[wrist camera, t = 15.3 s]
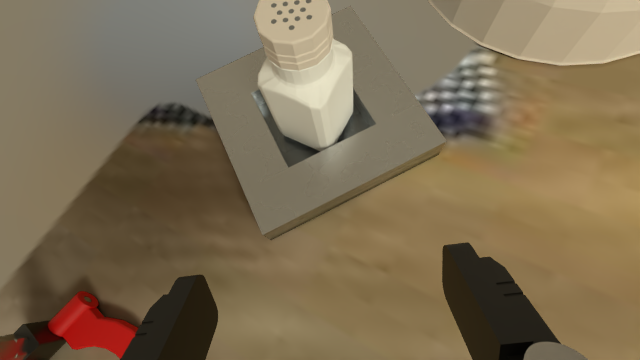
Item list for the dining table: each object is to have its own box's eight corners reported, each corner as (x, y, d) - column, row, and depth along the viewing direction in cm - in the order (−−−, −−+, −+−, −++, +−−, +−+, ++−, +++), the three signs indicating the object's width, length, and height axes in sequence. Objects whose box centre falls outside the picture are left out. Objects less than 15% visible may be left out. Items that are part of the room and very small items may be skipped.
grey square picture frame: (351, 27, 25) (350, 5, 23) (438, 154, 21) (446, 141, 19) (208, 95, 25) (195, 79, 23) (271, 239, 21) (262, 235, 19)
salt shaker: (278, 136, 22) (225, 33, 13) (305, 89, 23) (273, -36, 14) (330, 158, 22) (311, 65, 13) (356, 109, 22) (356, -12, 13)
